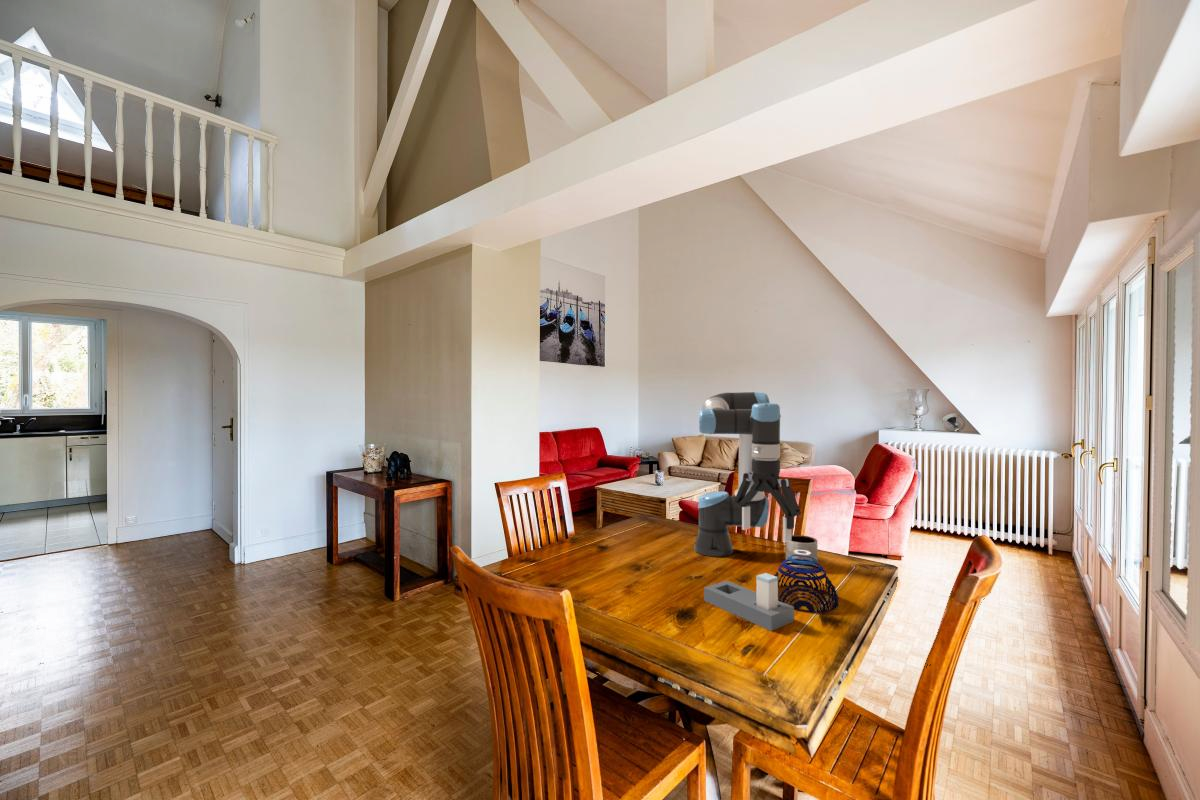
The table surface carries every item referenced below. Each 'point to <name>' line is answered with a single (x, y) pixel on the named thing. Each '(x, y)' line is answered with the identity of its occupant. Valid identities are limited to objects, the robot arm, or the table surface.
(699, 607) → the table surface
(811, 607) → the decorative bowl
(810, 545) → the planter
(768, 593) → the plug
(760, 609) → the gray socket block
